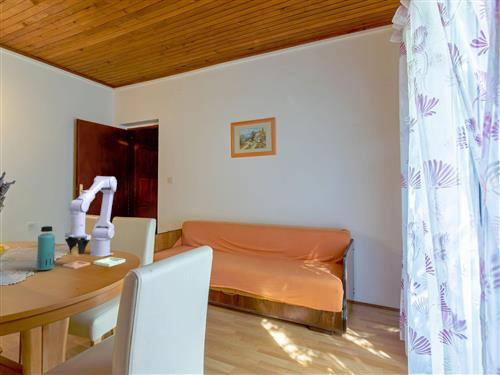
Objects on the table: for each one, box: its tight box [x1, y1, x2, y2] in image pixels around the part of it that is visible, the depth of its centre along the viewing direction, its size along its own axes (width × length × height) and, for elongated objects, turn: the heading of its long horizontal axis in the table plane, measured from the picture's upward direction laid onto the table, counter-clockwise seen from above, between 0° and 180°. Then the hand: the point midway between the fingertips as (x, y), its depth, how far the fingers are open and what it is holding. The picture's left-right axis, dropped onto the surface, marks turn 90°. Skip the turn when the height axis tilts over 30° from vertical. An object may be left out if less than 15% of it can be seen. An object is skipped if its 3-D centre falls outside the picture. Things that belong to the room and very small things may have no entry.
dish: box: [61, 260, 91, 270], centre depth 130 cm, size 8×8×1 cm
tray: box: [93, 256, 126, 268], centre depth 136 cm, size 10×10×2 cm
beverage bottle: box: [35, 225, 56, 271], centre depth 121 cm, size 6×7×20 cm
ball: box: [70, 245, 82, 257], centre depth 130 cm, size 5×5×5 cm
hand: (77, 253), depth 130 cm, fingers closed on ball, 5 cm apart
